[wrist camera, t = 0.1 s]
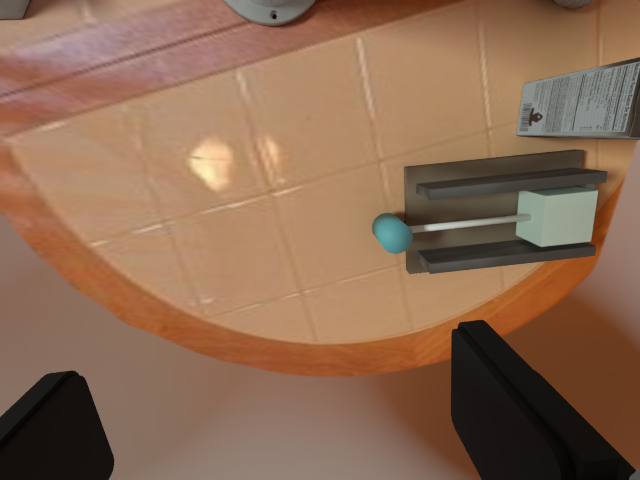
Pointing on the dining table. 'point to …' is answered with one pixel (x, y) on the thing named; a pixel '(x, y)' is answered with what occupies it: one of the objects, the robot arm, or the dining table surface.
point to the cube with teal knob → (514, 219)
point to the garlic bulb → (572, 3)
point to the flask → (13, 9)
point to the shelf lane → (486, 209)
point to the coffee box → (584, 104)
